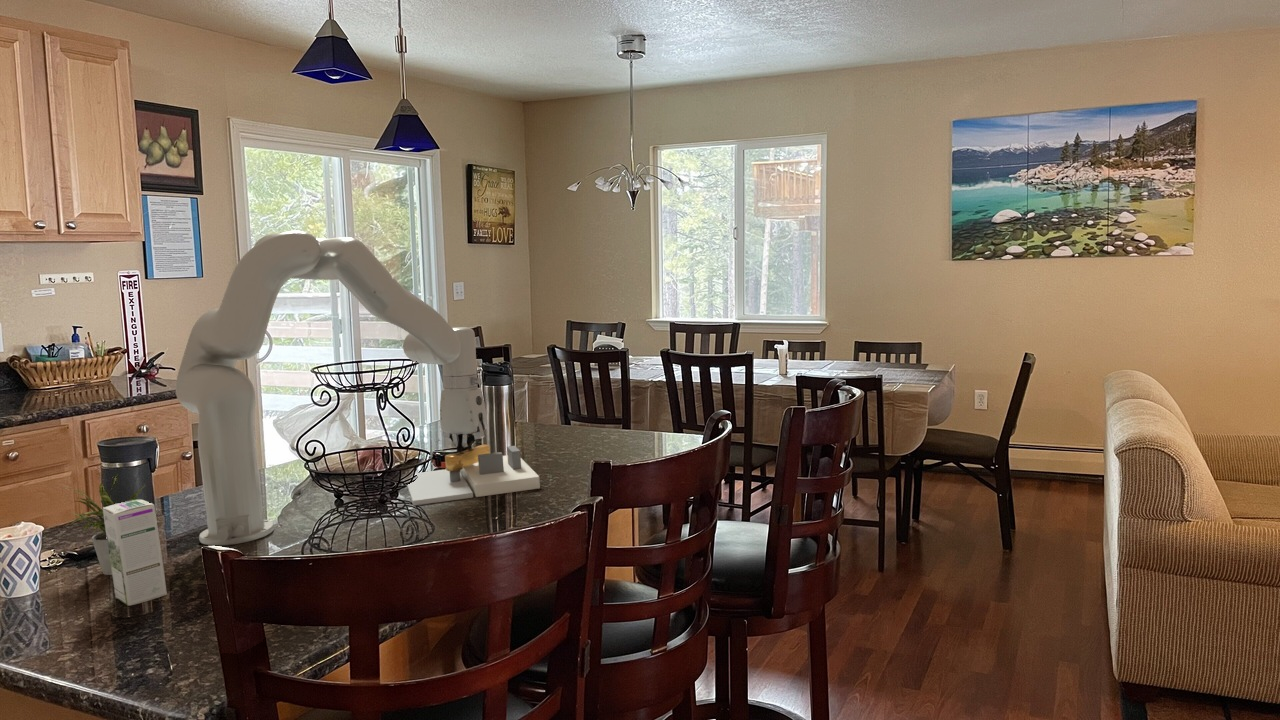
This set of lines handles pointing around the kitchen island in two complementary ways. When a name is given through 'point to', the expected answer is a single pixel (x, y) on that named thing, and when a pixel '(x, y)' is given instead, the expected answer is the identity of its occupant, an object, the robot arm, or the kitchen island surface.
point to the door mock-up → (475, 479)
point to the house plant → (100, 526)
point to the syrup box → (134, 551)
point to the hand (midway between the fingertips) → (464, 463)
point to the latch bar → (465, 457)
